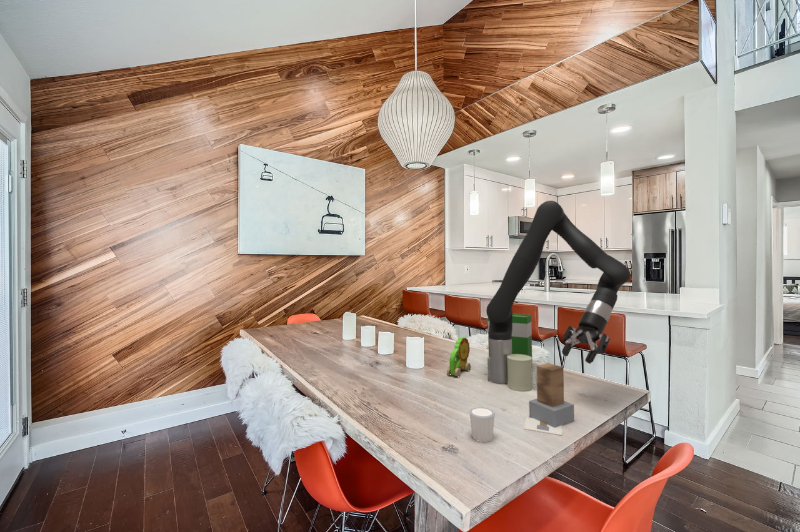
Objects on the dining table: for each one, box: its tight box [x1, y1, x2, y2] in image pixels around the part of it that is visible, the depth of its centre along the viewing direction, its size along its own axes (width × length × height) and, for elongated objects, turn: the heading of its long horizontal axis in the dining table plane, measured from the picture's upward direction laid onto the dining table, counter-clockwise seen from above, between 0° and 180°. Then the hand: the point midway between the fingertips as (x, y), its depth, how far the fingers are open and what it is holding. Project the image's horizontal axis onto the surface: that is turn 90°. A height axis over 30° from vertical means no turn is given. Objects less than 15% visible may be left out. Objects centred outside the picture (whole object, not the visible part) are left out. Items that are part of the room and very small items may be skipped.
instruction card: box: [523, 416, 563, 436], centre depth 103 cm, size 10×8×1 cm
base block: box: [528, 398, 575, 428], centre depth 108 cm, size 9×9×5 cm
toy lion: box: [446, 336, 472, 378], centre depth 155 cm, size 16×5×15 cm, turn 144°
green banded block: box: [487, 313, 533, 358], centre depth 161 cm, size 18×7×24 cm, turn 56°
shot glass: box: [468, 406, 495, 442], centre depth 98 cm, size 7×7×7 cm
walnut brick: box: [536, 362, 565, 407], centre depth 108 cm, size 5×5×11 cm
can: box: [506, 354, 534, 392], centre depth 135 cm, size 9×9×12 cm
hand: (575, 358), depth 115 cm, fingers open, 8 cm apart
